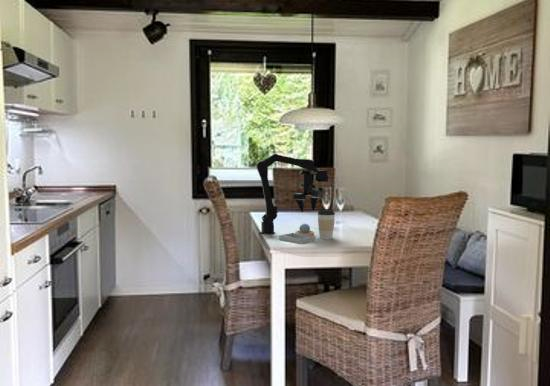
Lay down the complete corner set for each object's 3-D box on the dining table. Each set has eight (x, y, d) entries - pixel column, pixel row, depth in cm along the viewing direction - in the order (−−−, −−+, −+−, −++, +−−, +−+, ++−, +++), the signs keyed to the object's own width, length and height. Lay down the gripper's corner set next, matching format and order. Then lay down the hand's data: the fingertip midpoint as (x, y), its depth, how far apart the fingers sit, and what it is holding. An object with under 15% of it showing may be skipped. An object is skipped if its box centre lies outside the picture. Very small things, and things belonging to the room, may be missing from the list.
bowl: (291, 235, 282) (291, 231, 282) (303, 233, 290) (303, 229, 289) (305, 237, 276) (305, 234, 275) (318, 235, 283) (318, 231, 282)
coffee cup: (333, 236, 281) (333, 208, 280) (335, 239, 272) (336, 210, 271) (316, 236, 281) (316, 208, 279) (318, 239, 272) (318, 210, 270)
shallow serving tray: (278, 239, 271) (278, 235, 270) (292, 236, 278) (292, 232, 278) (300, 243, 260) (301, 239, 260) (314, 240, 268) (314, 236, 267)
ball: (305, 235, 279) (305, 224, 278) (297, 234, 282) (297, 223, 282) (312, 233, 282) (312, 223, 282) (304, 232, 286) (304, 222, 286)
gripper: (308, 184, 275) (307, 214, 277) (330, 182, 289) (330, 211, 290) (292, 183, 283) (292, 212, 285) (315, 181, 296) (314, 209, 298)
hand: (307, 211), depth 289 cm, fingers open, 9 cm apart
